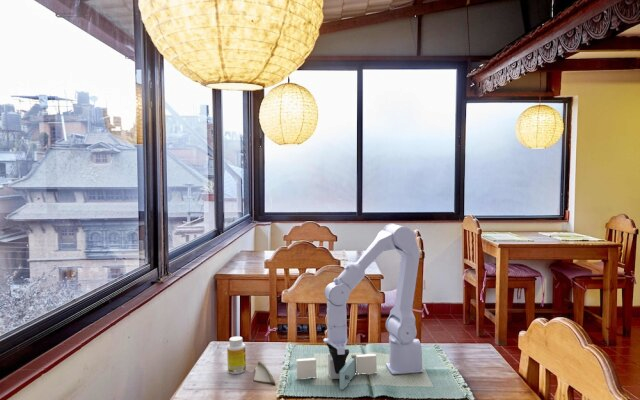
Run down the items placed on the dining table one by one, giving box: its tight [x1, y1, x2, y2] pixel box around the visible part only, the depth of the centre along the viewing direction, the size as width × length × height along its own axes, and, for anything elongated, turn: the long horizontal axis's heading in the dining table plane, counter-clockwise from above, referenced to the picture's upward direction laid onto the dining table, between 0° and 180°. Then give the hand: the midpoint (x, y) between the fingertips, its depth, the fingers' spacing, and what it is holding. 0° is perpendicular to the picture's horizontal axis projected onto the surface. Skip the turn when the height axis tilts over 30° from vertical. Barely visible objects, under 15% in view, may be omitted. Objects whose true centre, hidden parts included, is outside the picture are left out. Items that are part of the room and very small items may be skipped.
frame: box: [296, 353, 378, 380], centre depth 139 cm, size 24×2×6 cm, turn 97°
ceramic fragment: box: [252, 360, 276, 386], centre depth 139 cm, size 14×5×4 cm, turn 26°
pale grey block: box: [327, 353, 347, 380], centre depth 138 cm, size 4×4×6 cm
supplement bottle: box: [226, 335, 247, 375], centre depth 144 cm, size 6×6×10 cm
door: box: [339, 357, 356, 390], centre depth 134 cm, size 10×2×5 cm, turn 158°
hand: (337, 369), depth 138 cm, fingers closed on pale grey block, 4 cm apart
